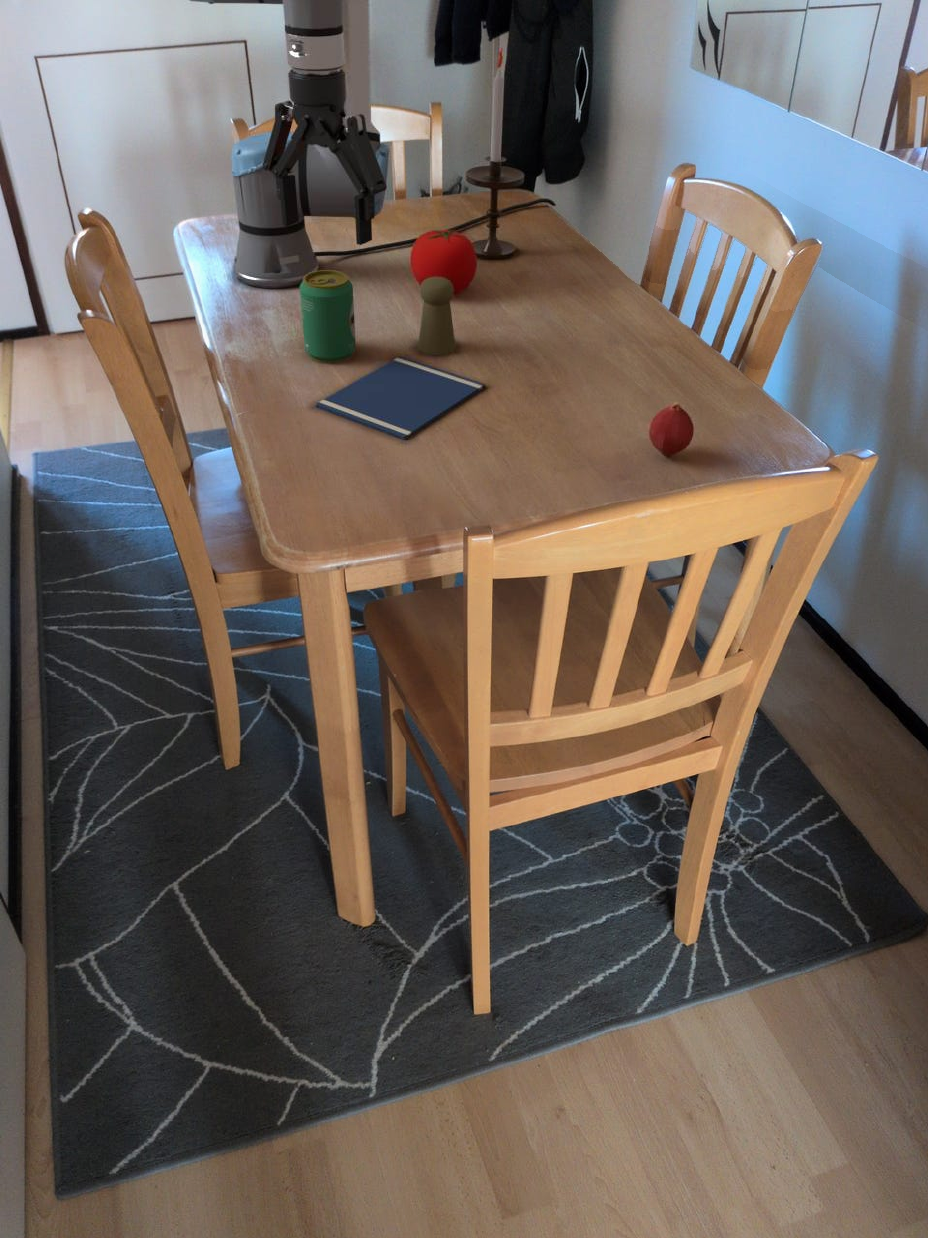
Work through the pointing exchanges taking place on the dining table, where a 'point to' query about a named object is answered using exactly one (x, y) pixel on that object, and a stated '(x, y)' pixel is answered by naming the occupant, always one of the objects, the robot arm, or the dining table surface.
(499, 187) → the candlestick
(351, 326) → the beverage can
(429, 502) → the dining table surface
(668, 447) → the onion
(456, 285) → the tomato
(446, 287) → the olive game pawn
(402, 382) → the towel
